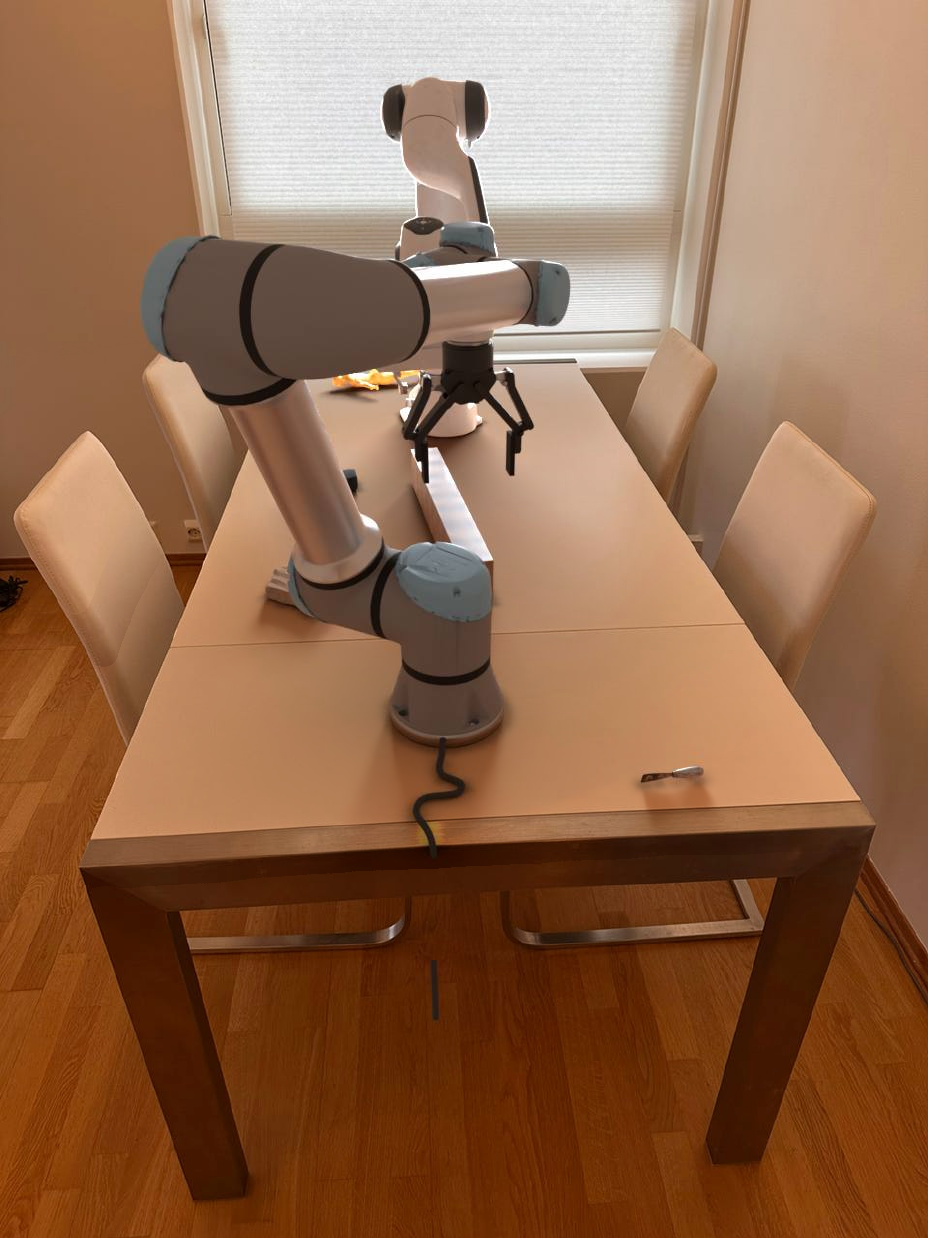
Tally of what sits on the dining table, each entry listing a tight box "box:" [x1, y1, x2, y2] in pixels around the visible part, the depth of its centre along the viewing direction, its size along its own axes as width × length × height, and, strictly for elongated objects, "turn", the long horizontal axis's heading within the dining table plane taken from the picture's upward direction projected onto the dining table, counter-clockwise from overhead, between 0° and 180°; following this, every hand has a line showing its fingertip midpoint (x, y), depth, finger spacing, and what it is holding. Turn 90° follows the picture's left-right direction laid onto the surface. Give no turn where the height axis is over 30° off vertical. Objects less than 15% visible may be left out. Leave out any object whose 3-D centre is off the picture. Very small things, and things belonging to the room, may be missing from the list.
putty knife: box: [640, 765, 705, 784], centre depth 109 cm, size 1×8×2 cm, turn 103°
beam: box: [410, 447, 495, 596], centre depth 163 cm, size 50×5×8 cm, turn 12°
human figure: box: [331, 369, 420, 391], centre depth 243 cm, size 20×20×4 cm
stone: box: [264, 565, 298, 608], centre depth 147 cm, size 13×12×3 cm
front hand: (468, 476), depth 140 cm, fingers open, 13 cm apart
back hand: (428, 391), depth 169 cm, fingers open, 8 cm apart
